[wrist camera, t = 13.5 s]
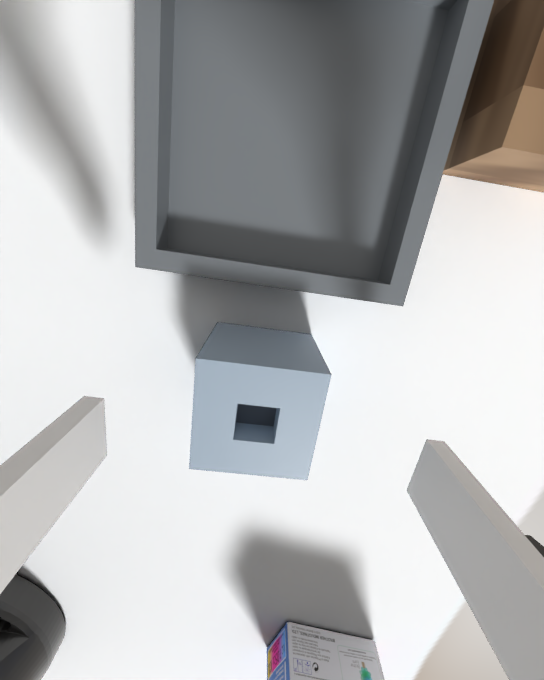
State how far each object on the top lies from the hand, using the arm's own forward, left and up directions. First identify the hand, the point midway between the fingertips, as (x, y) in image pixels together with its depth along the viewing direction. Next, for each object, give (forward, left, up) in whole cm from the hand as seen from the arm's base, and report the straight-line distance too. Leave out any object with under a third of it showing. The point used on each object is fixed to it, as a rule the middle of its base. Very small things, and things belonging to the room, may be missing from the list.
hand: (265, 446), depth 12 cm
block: (0, 0, -8) cm, 8 cm away
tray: (0, +13, -8) cm, 15 cm away
